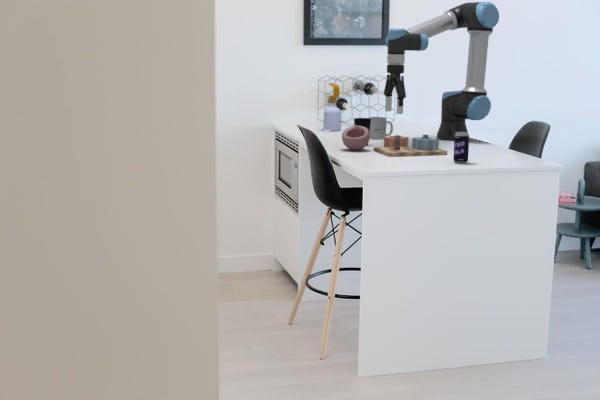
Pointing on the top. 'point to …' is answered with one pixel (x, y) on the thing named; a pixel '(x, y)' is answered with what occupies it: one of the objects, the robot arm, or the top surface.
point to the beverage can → (461, 147)
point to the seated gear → (425, 143)
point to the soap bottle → (333, 112)
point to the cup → (363, 123)
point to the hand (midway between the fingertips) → (393, 112)
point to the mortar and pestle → (355, 137)
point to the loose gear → (390, 141)
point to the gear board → (407, 150)
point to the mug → (379, 128)
